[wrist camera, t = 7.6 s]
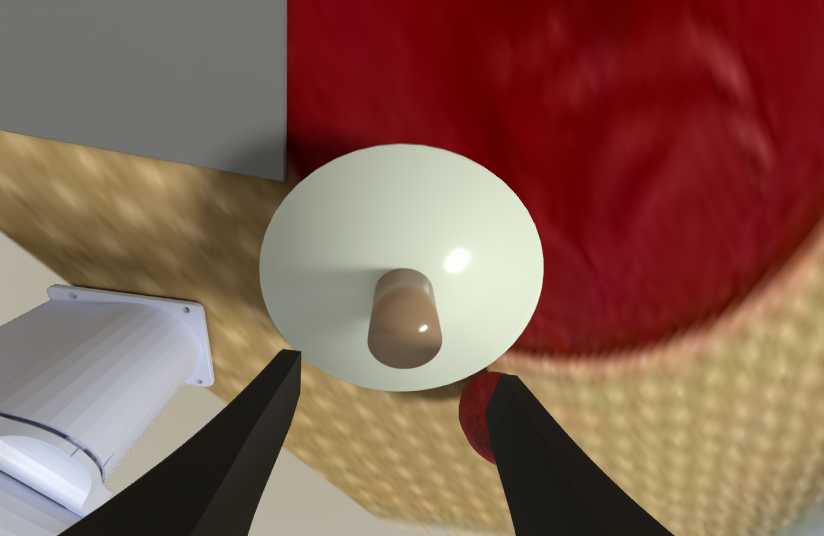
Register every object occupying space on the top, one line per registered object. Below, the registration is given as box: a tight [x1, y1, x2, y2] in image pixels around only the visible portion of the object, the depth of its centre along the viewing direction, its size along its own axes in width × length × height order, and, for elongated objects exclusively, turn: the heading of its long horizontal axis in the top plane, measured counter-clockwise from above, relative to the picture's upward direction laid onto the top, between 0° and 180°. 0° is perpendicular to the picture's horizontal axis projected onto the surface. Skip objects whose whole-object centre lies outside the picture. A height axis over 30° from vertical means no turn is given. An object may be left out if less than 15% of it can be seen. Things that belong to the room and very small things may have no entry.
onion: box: [459, 372, 508, 465], centre depth 22 cm, size 6×6×8 cm
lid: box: [259, 143, 543, 391], centre depth 14 cm, size 14×14×4 cm
